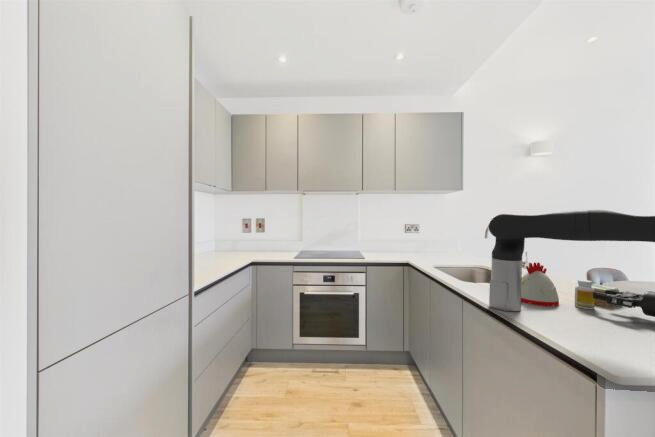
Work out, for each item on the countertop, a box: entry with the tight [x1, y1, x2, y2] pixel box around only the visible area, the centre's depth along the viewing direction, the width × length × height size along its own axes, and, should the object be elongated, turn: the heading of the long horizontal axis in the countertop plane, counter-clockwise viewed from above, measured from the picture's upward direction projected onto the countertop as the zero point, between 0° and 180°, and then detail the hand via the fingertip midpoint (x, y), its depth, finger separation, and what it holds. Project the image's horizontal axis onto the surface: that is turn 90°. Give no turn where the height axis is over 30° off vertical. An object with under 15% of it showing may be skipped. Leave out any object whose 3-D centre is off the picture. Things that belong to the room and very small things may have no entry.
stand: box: [591, 283, 620, 308], centre depth 115 cm, size 9×9×6 cm
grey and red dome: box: [521, 262, 560, 307], centre depth 115 cm, size 14×14×15 cm
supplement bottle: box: [574, 279, 595, 310], centre depth 107 cm, size 5×5×10 cm
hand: (599, 293), depth 103 cm, fingers open, 8 cm apart
